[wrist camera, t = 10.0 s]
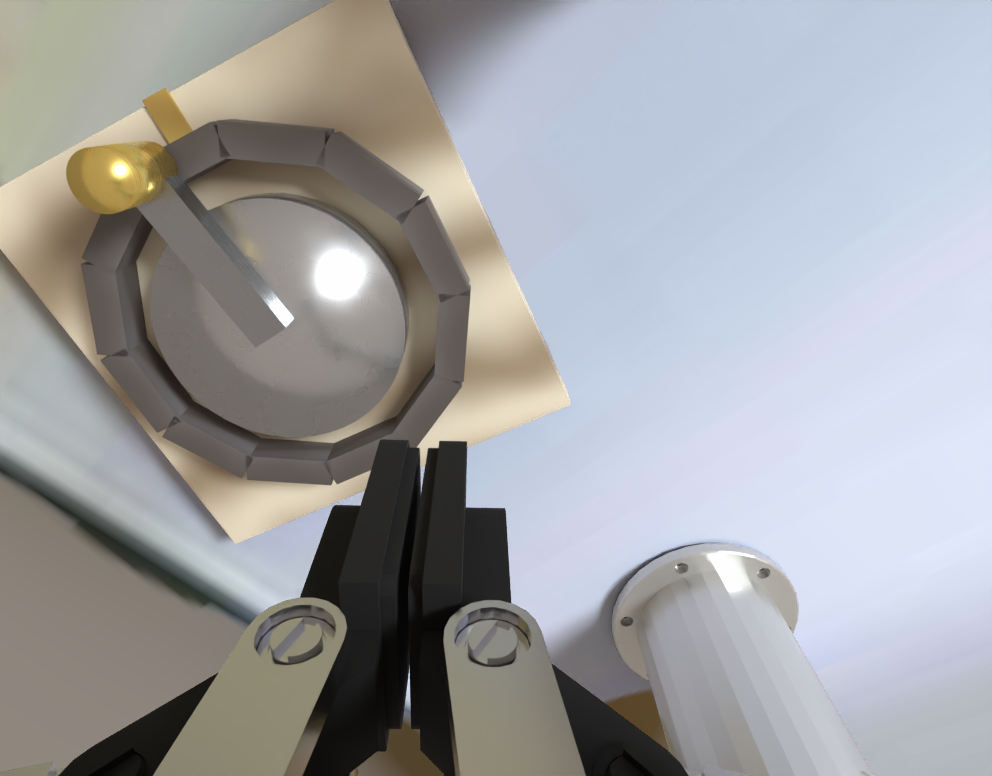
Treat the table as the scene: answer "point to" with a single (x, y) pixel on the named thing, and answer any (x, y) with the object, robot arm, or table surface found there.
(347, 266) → the dial
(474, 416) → the dial plate
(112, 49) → the table surface
